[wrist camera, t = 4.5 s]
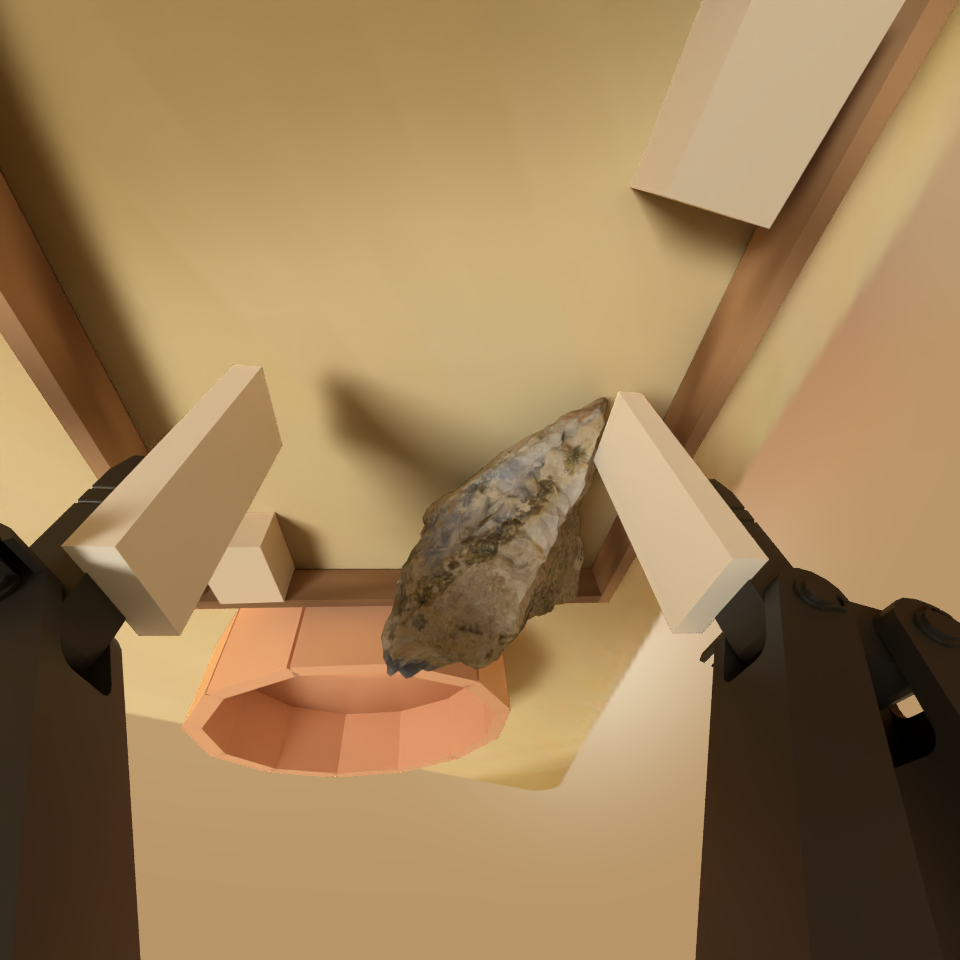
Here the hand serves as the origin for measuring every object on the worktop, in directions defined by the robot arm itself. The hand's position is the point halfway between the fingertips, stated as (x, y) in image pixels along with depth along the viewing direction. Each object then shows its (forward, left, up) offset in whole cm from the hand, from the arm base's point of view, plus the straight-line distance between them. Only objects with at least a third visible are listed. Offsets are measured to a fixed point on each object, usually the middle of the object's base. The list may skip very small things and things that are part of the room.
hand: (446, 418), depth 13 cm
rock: (0, +1, +1) cm, 2 cm away
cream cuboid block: (+9, -9, -3) cm, 13 cm away
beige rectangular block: (-8, +6, -3) cm, 11 cm away
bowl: (+21, -4, -2) cm, 21 cm away
